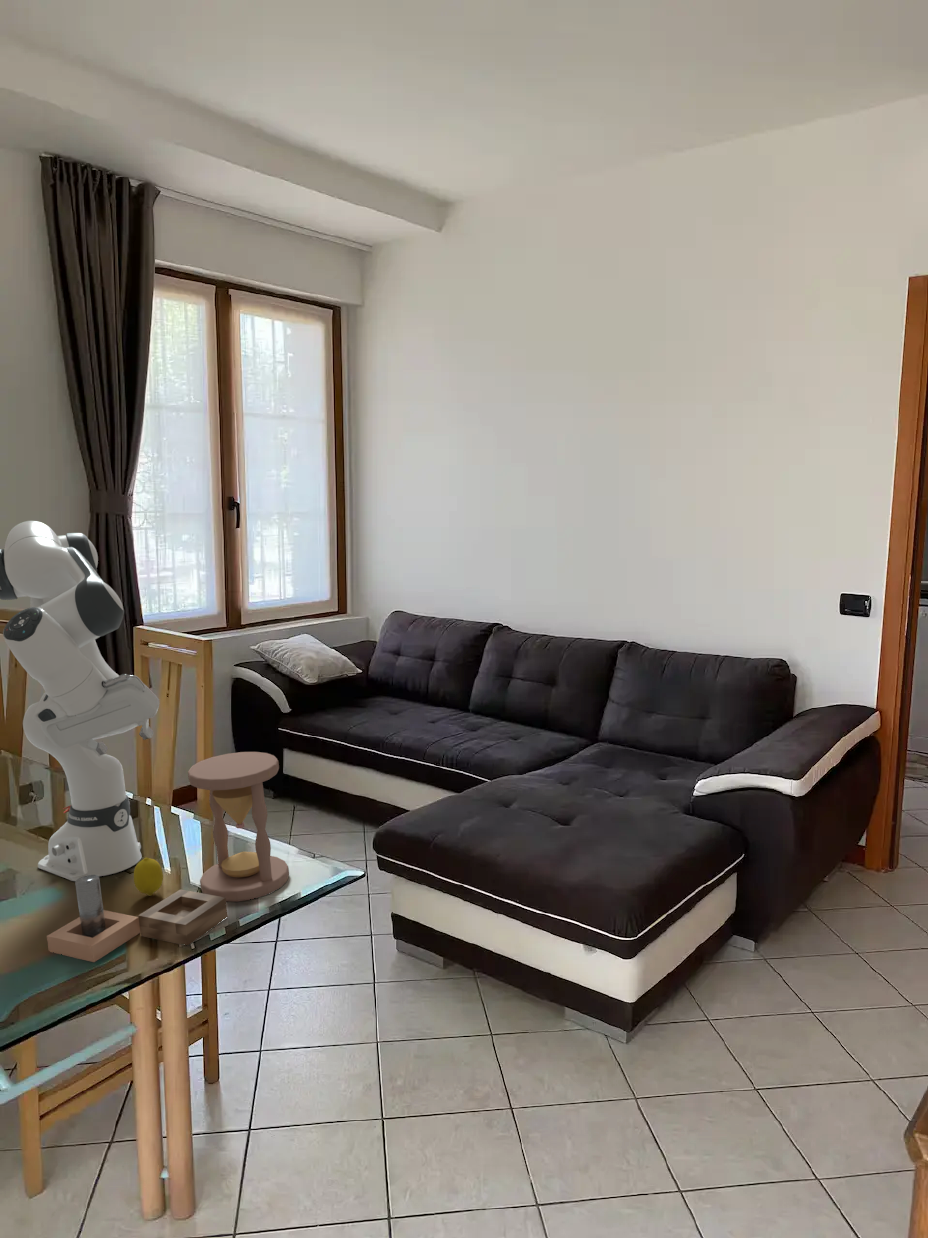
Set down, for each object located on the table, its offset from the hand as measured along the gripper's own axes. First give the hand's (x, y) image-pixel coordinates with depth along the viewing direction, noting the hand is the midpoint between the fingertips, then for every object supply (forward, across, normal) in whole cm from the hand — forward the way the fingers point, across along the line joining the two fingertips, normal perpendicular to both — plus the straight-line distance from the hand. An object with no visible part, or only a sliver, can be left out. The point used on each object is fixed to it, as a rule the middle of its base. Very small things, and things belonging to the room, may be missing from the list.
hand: (126, 744), depth 166 cm
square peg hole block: (+32, +4, +16) cm, 36 cm away
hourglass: (+42, 0, 0) cm, 42 cm away
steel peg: (+26, +18, +19) cm, 37 cm away
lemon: (+35, +16, +3) cm, 39 cm away
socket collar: (+26, +18, +19) cm, 37 cm away
